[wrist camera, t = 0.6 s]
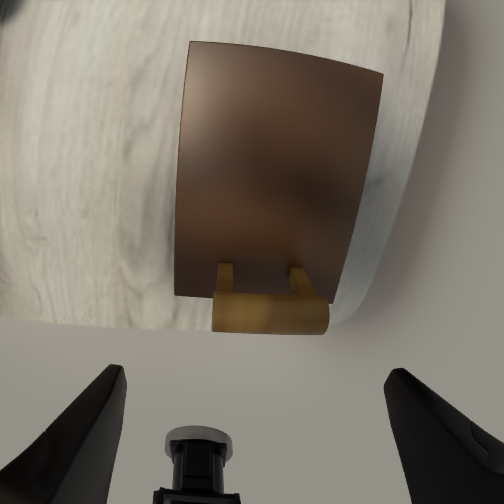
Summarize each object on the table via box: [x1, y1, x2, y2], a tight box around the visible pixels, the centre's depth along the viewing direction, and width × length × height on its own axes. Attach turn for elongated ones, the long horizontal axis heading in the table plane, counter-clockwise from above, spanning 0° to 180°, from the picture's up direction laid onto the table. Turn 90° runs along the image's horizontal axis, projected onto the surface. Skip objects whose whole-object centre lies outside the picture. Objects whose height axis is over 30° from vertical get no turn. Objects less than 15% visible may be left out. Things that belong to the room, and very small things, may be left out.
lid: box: [174, 41, 384, 335], centre depth 12 cm, size 12×8×5 cm
